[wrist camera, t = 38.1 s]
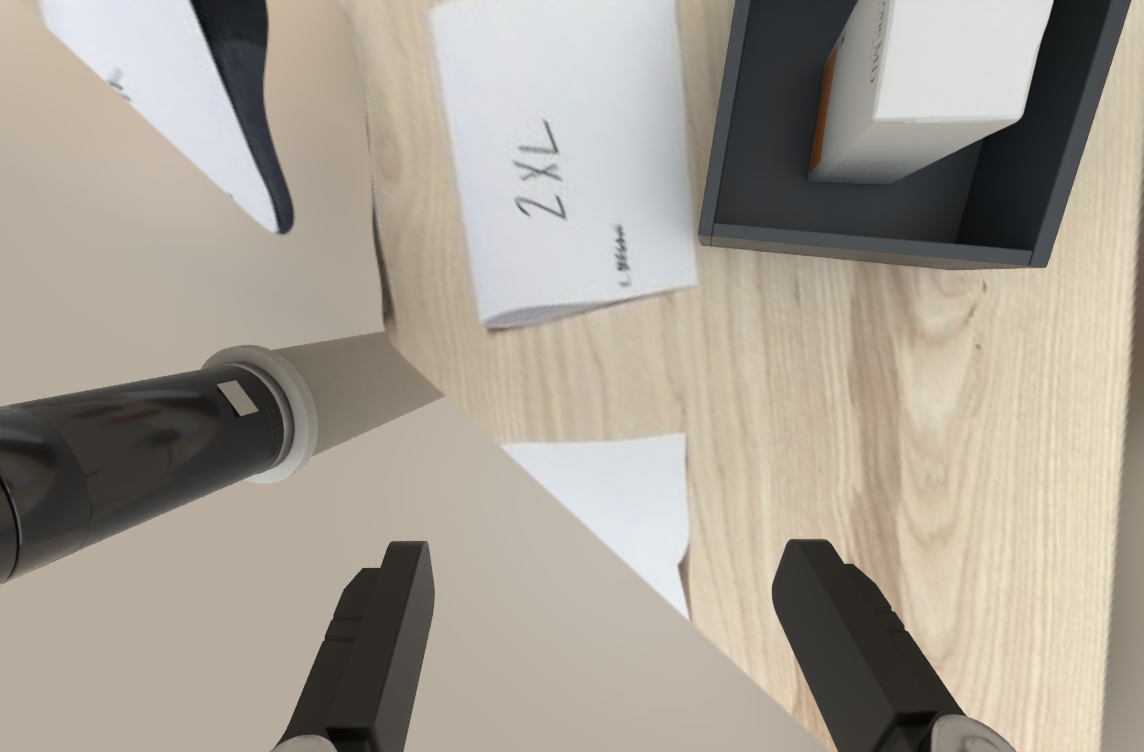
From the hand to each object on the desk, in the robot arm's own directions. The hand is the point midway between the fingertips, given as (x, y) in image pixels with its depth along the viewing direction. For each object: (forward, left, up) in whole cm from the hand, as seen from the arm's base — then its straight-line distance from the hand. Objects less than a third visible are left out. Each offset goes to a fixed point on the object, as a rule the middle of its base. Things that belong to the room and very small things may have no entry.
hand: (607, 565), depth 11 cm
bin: (+7, +15, -21) cm, 27 cm away
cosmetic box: (+7, +15, -21) cm, 27 cm away
